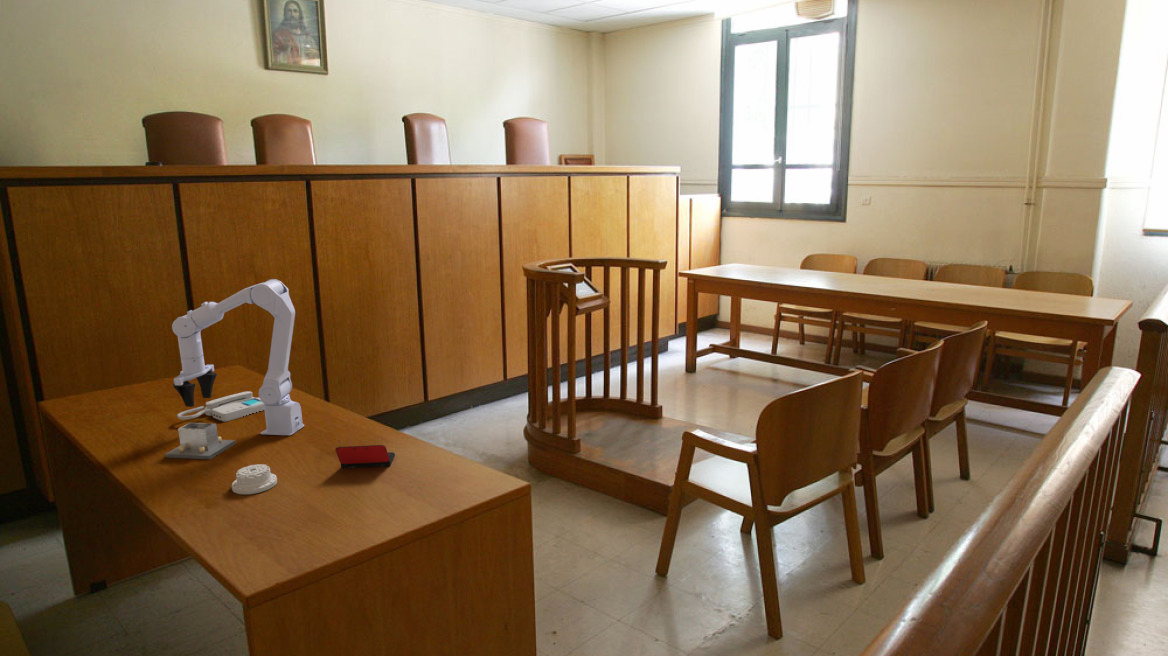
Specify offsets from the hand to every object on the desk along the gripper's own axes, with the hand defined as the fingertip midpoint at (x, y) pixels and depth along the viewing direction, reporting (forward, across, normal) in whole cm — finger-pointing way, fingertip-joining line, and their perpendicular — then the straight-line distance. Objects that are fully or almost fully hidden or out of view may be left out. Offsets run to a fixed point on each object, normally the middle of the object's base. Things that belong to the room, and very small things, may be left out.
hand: (198, 401), depth 208 cm
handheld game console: (+10, +16, +58) cm, 61 cm away
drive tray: (+9, +12, +8) cm, 18 cm away
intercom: (+10, -15, -4) cm, 18 cm away
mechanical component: (+10, +32, +36) cm, 49 cm away
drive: (+8, +12, +8) cm, 17 cm away
